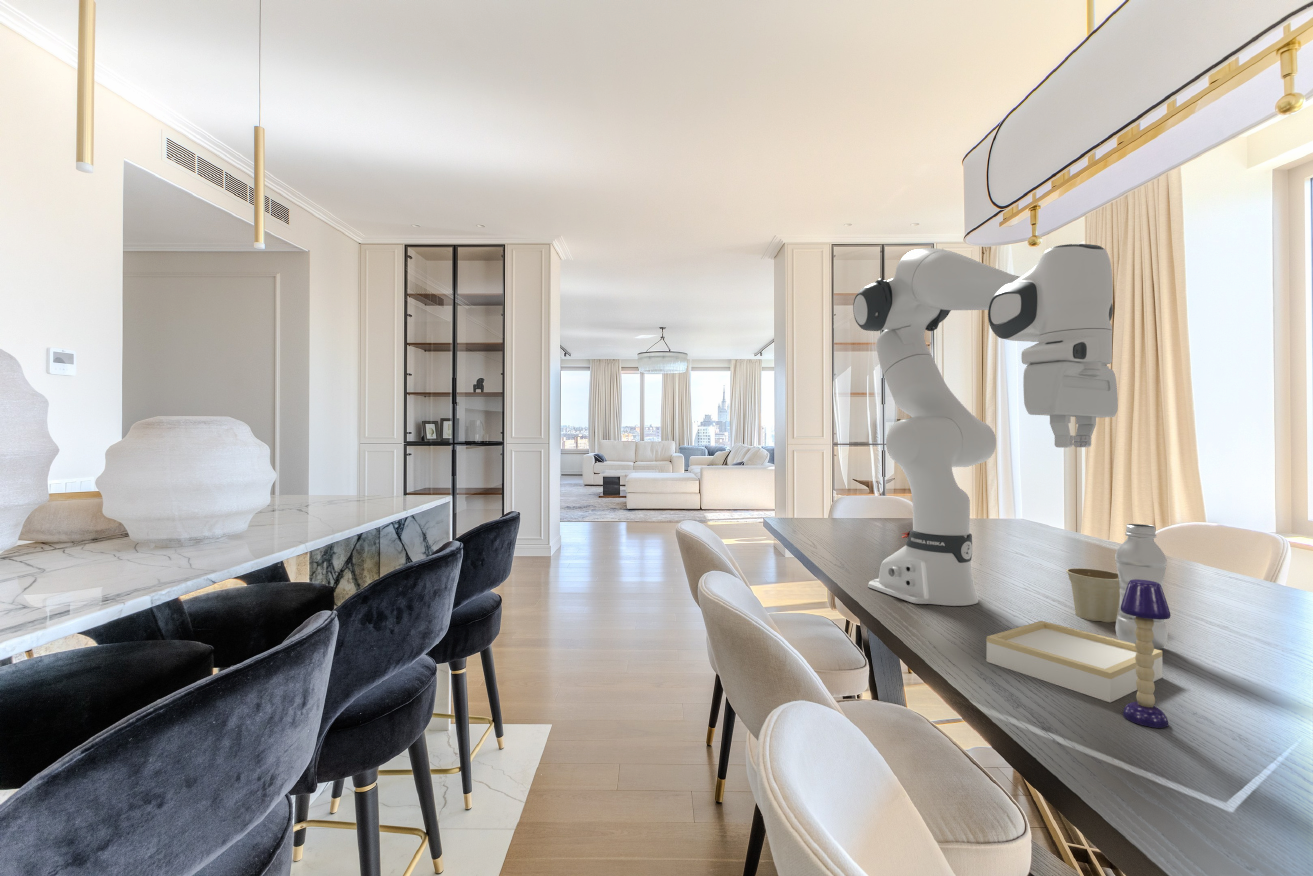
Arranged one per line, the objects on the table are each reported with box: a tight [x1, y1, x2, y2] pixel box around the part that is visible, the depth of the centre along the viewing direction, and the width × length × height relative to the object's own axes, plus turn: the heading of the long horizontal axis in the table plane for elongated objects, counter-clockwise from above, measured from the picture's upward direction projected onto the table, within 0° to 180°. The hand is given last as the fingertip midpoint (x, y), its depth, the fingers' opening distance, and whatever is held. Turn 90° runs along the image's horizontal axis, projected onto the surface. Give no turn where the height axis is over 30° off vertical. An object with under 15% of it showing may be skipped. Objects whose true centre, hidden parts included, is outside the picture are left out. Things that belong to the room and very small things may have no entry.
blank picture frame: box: [986, 620, 1163, 703], centre depth 86 cm, size 16×16×4 cm
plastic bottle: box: [1114, 523, 1169, 650], centre depth 95 cm, size 6×7×20 cm
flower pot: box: [1065, 567, 1120, 623], centre depth 111 cm, size 9×9×9 cm
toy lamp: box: [1121, 579, 1171, 729], centre depth 70 cm, size 5×5×17 cm
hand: (1073, 447), depth 86 cm, fingers open, 4 cm apart
